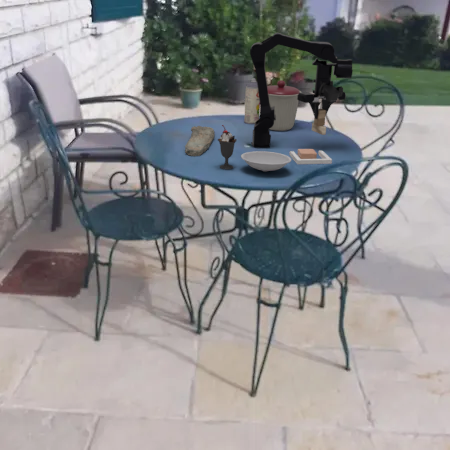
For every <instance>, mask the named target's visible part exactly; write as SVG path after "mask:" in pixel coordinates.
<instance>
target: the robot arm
mask: <svg viewBox="0 0 450 450" xmlns="http://www.w3.org/2000/svg"><path fill="white" fill-rule="evenodd" d="M277 46H283V47H285V48H286V47H287V48H291V49H294V50H299V51H302V52H306V53H310V54H311V55H314V56H315V57H316V58H315V60H314V61H312V62H311V64H312V66H316V72H315V79H313V83H314V89H312V93H311V92H306V91H305V92H303V91H302V93H299V94H298V96H297V100H299V102H303V103H306V104H309V106H310V108H311V111H312V113H313V116H314V117H315V119H317V118H318V109H320V108H319V107H320V105H321V109H324V110H326V115H325V117H326V116H327V113H328V112H329V109H330V108H331V106H333V104H334V103H337V101H338V100H339V101H343V100H346V97H347V94H346V92H345V91H344V87H342V86H334V82H333V80H332V75H333V76H335V79H352V76H353V59H338V57H337V56H335V48H334V46H333V45H332V44H331V43H330V42H329V41H309V40H306V39H302V38H298V37H295V36H290V35H287V34H283V33H281V32H275V33H273V34H272V35H271V36H270V37H268V38H265V40H262V41H261V42H260V41H259V42H254V43H253V44H252V45H251V46H250V50H249V55H250V59H251V60H252V64H253V68H254V69H255V76H256V78H255V79H256V82H257V85H258V92H259V100H260V111H259V119H258V120H257V121H256V122H255V124H253V125H254V126H253V129H252V139H251V143H250V144H251V145H252V147H253V148H255V149H256V148H257V149H258V148H260V149H261V148H262V149H263V148H266V149H267V148H271V146H270V145H271V139H272V135H271V130H270V129H269V128H271V127H272V126H273V125H274V120H276V115H275V113H274V109H275V107H271V105H270V102H269V95H268V87H267V86H268V81H267V74H266V73H267V72H266V53H268V52H270V51H271V50H273V49H274V48H275V47H277ZM319 58H320V59H321V60H319ZM327 61H329V62H330V63H329V62H327ZM320 100H321V102H320ZM314 117H313V118H314Z"/></svg>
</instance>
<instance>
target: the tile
mask: <svg viewBox="0 0 450 450" xmlns="http://www.w3.org/2000/svg"><path fill="white" fill-rule="evenodd" d="M296 154H297V156H298V157H299V158H300V159H318V158H317V156H318V152H316V150H315V149H313V148H298V149H297V153H296Z"/></svg>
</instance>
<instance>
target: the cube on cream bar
mask: <svg viewBox="0 0 450 450" xmlns="http://www.w3.org/2000/svg"><path fill="white" fill-rule="evenodd" d="M325 115H326V116H327V114H326V110H324V109H322V108H319V109H318V118H317V119H315V117H313V122H311V123H312V124H311V131H312V132H315V133H317V134H319V135H322V136H323V135H324V136H325V135H326V134H327V126H326V125H325V124H326V116H325Z"/></svg>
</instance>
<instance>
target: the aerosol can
mask: <svg viewBox="0 0 450 450" xmlns="http://www.w3.org/2000/svg"><path fill="white" fill-rule="evenodd" d="M258 119H260V100H259V92H258V85H257V78H254V77H253V78H251V80H250V82H248V83H247V84H246V86H245V97H244V121H243V123H244V124H247V125H254V124H255V122H256V121H257V120H258Z"/></svg>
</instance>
